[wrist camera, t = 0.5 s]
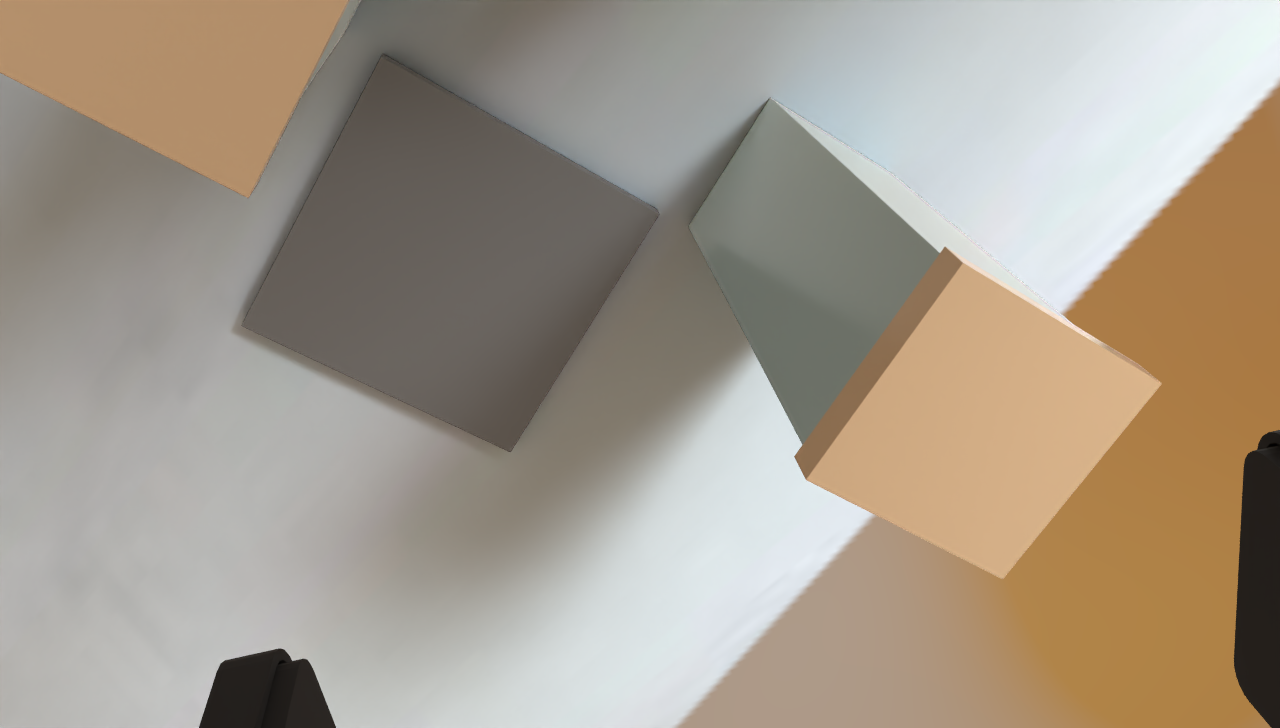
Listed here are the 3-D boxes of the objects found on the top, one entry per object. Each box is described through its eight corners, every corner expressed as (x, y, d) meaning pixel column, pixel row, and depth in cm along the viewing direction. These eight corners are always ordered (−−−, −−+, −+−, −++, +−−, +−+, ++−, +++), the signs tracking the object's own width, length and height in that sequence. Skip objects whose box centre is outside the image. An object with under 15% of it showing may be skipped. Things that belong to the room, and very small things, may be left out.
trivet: (382, 53, 36) (380, 57, 36) (656, 209, 39) (659, 214, 39) (244, 319, 39) (241, 326, 39) (510, 444, 42) (510, 452, 42)
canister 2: (768, 88, 38) (963, 262, 23) (898, 170, 40) (1161, 383, 24) (680, 228, 40) (806, 479, 24) (808, 301, 41) (1002, 579, 26)
